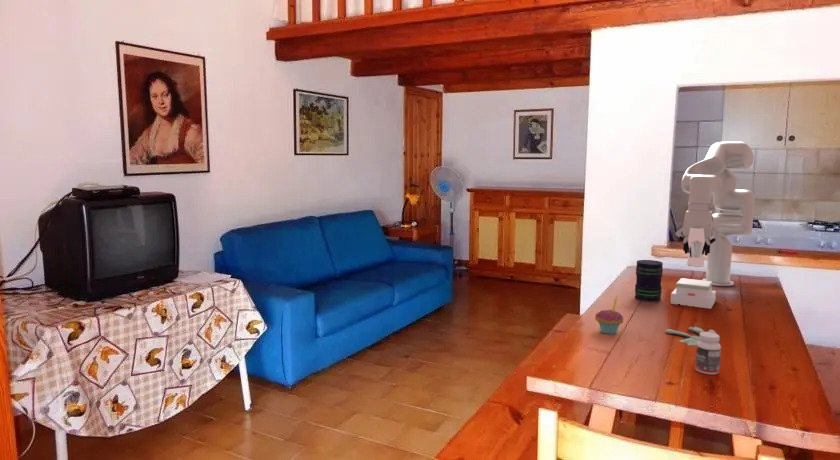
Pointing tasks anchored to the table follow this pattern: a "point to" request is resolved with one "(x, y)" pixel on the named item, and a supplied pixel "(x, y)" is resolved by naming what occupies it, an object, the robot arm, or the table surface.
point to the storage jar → (648, 280)
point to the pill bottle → (708, 353)
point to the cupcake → (609, 320)
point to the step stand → (694, 293)
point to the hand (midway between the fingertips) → (696, 253)
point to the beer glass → (696, 247)
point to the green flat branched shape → (690, 339)
